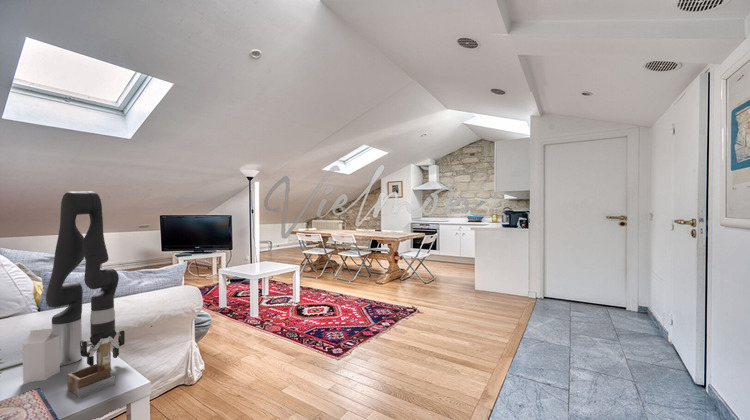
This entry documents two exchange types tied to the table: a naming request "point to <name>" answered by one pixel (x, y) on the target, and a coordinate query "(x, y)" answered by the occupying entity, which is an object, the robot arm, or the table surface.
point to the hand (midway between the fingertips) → (103, 361)
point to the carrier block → (86, 376)
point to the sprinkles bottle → (104, 353)
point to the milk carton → (40, 355)
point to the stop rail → (95, 386)
